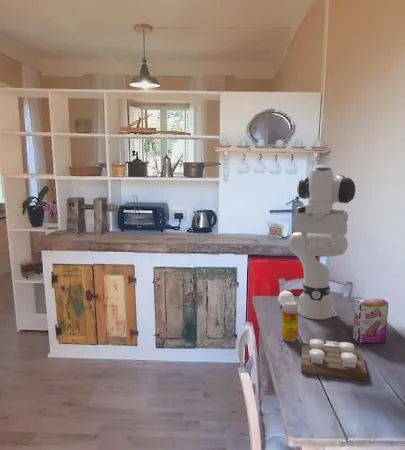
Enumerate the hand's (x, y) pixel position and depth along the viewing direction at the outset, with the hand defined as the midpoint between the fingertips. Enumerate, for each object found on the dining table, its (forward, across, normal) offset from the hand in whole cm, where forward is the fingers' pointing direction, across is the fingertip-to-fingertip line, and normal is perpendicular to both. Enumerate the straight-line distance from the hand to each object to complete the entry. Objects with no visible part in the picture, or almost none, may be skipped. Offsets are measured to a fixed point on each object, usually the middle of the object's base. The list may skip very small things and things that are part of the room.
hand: (318, 245), depth 142 cm
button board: (+40, -11, +11) cm, 42 cm away
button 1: (+37, -5, +9) cm, 39 cm away
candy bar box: (+37, -16, -16) cm, 43 cm away
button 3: (+38, -7, +17) cm, 42 cm away
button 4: (+38, -17, +13) cm, 44 cm away
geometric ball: (+34, +27, -33) cm, 54 cm away
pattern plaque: (+38, -6, -2) cm, 38 cm away
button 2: (+37, -14, +6) cm, 40 cm away
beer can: (+38, +10, +1) cm, 39 cm away
